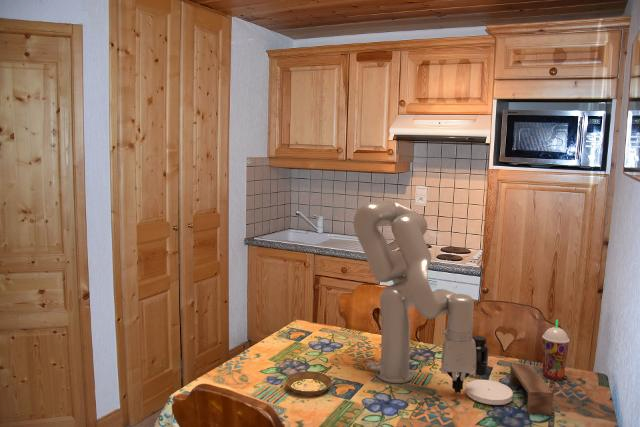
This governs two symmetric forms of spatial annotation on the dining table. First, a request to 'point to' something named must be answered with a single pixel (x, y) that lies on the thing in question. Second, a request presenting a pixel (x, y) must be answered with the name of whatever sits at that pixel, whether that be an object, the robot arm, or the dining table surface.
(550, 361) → the smoothie
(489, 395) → the plastic lid
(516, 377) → the walnut bridge
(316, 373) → the plant saucer
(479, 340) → the supplement bottle
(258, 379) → the dining table surface
